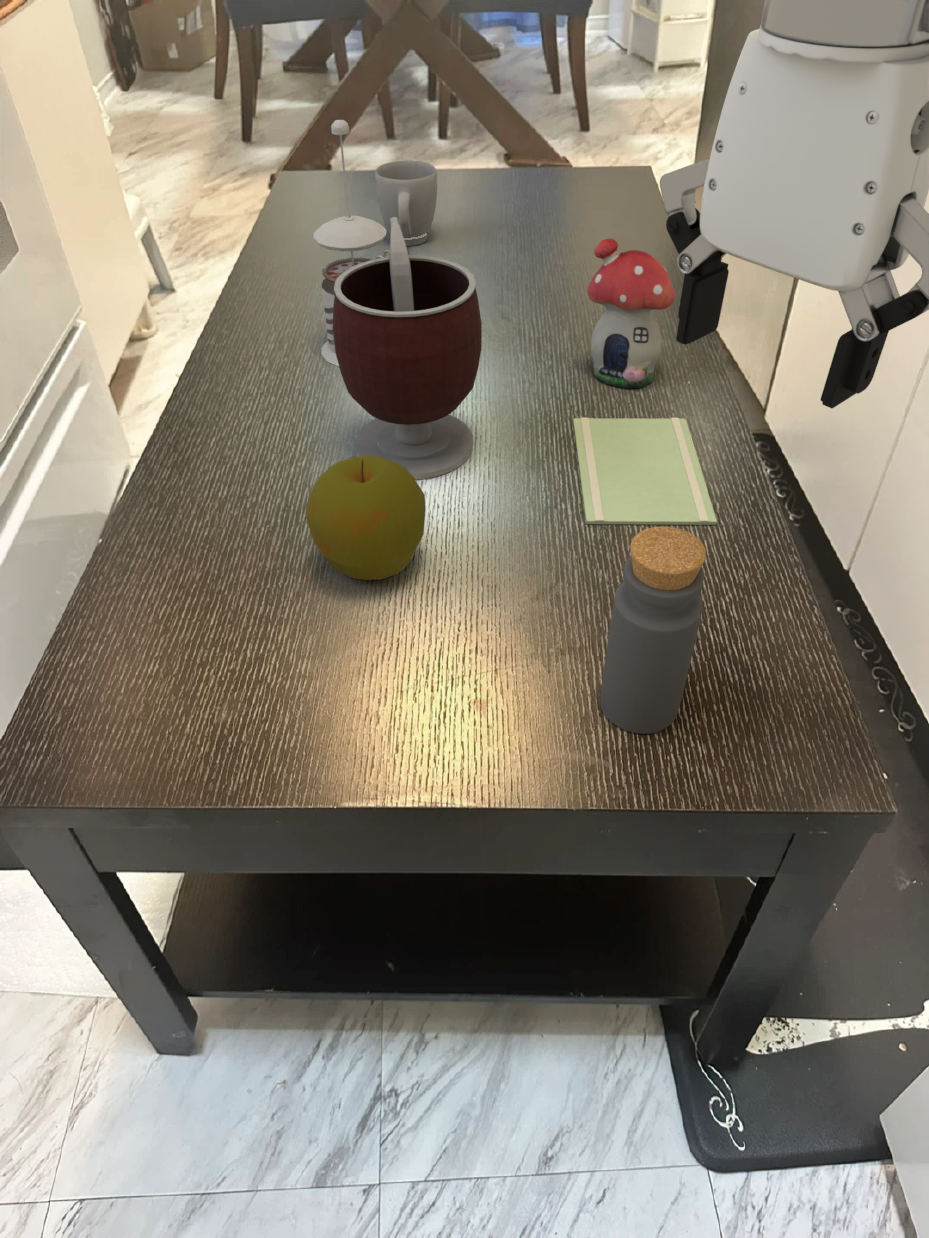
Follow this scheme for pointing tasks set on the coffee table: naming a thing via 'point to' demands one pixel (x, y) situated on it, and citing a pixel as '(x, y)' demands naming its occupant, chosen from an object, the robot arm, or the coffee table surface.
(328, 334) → the french press
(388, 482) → the apple
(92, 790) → the coffee table surface
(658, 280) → the decorative ornament
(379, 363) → the mate gourd
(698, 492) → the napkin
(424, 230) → the mug
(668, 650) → the bottle
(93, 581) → the coffee table surface
